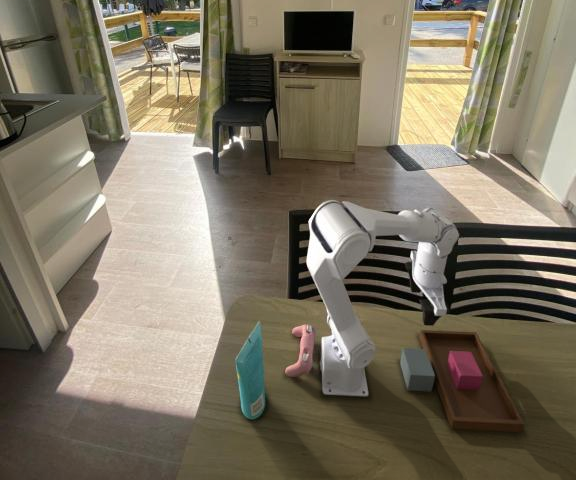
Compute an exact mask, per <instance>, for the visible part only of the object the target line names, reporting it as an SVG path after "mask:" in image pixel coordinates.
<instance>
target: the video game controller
mask: <svg viewBox="0 0 576 480" xmlns="http://www.w3.org/2000/svg"><path fill="white" fill-rule="evenodd" d="M316 332H317V329H316V327H315V326H314V325H312V324H308V323H306V324H302V325H299V326H295V327H294V328H293V329H292V331H291V333H292V335H293V336H295V337H296V338H300V343H299V349H300V351H299V356H298V360H297V362H295V363H294V364H291V365H289V366H287V367H286V368H285V370H284V372H285V375H286V376H287V377H290V378H298V377H301V376H304V375H308V374H309V372H310V371H311V370H312V369H313V366H314V365H313V364H314V362H313V353H314V346H315V338H316V337H315V336H316Z"/></svg>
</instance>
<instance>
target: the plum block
mask: <svg viewBox="0 0 576 480" xmlns="http://www.w3.org/2000/svg"><path fill="white" fill-rule="evenodd" d="M447 366H448V368H449V371H450V373H451V376H452V378H453V381H454V383H455V386H456V388H457V389H462V390H479V387H480V384H481V381H482V378H483V376H482V373H481V371H480V369H479V367H478V365H477V363H476V361H475V359H474V357H473V355H472V353H471V352H465V351H450V354H449V358H448V362H447Z"/></svg>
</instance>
